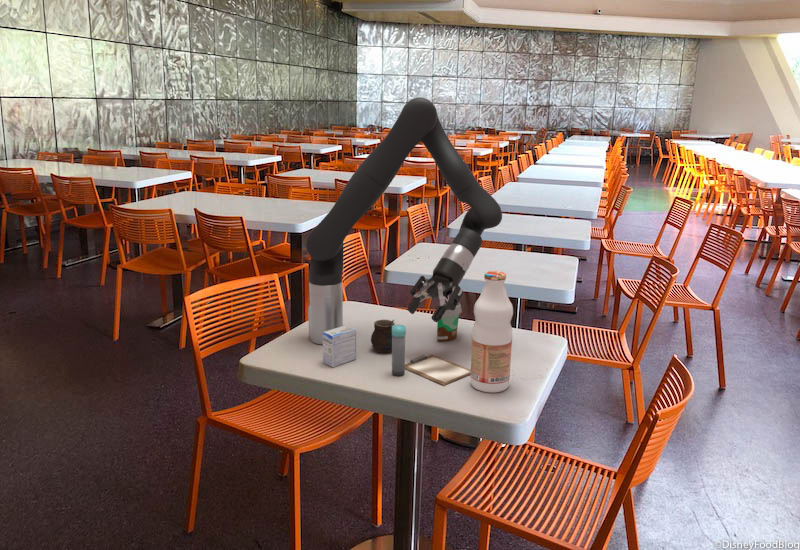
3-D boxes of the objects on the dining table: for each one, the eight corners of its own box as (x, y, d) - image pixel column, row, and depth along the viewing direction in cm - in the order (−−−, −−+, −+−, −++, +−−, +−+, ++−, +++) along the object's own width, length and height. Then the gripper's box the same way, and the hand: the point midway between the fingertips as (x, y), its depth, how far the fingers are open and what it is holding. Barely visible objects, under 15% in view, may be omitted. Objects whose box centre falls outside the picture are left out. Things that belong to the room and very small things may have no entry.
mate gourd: (382, 343, 180) (383, 309, 177) (403, 350, 175) (404, 315, 173) (365, 350, 175) (365, 315, 172) (386, 357, 170) (386, 322, 167)
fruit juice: (463, 387, 153) (467, 274, 145) (480, 373, 161) (485, 266, 153) (499, 397, 148) (505, 281, 141) (515, 382, 156) (522, 272, 148)
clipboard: (400, 367, 164) (400, 362, 164) (432, 355, 171) (432, 351, 171) (443, 386, 153) (443, 381, 153) (474, 373, 161) (474, 368, 161)
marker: (388, 373, 160) (389, 326, 157) (398, 369, 162) (399, 323, 159) (397, 377, 158) (398, 330, 154) (407, 374, 160) (408, 327, 157)
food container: (458, 345, 179) (459, 311, 176) (436, 343, 180) (437, 309, 178) (462, 330, 191) (464, 298, 188) (442, 328, 192) (443, 297, 189)
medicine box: (346, 355, 171) (345, 324, 169) (356, 359, 168) (356, 328, 166) (322, 363, 166) (321, 331, 164) (333, 368, 163) (332, 336, 161)
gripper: (427, 252, 169) (395, 302, 164) (468, 262, 159) (435, 315, 154) (440, 268, 174) (409, 317, 169) (480, 278, 164) (449, 331, 159)
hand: (421, 316), depth 162 cm, fingers open, 8 cm apart
